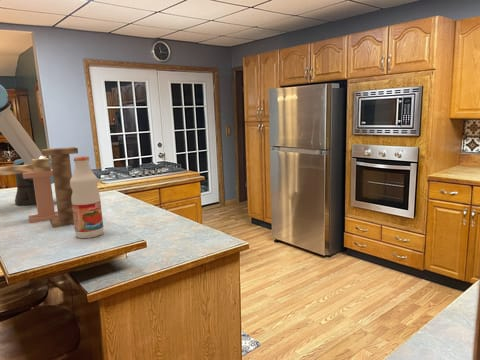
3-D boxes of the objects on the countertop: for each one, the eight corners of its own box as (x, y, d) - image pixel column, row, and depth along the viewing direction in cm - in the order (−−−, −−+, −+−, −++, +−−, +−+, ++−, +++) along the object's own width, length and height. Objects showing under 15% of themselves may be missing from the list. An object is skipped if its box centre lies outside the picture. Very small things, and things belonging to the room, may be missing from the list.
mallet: (48, 169, 156) (47, 157, 156) (50, 170, 151) (49, 159, 150) (-7, 174, 146) (-9, 162, 145) (-7, 176, 140) (-9, 163, 139)
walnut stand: (81, 217, 154) (73, 147, 149) (85, 222, 147) (77, 148, 142) (50, 222, 148) (40, 149, 143) (53, 227, 140) (43, 150, 135)
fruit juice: (89, 229, 136) (81, 155, 131) (109, 231, 133) (101, 155, 128) (69, 237, 127) (60, 158, 123) (90, 239, 124) (81, 158, 119)
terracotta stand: (62, 213, 162) (56, 168, 158) (64, 217, 155) (59, 170, 152) (28, 219, 155) (22, 171, 151) (30, 223, 148) (23, 173, 145)
